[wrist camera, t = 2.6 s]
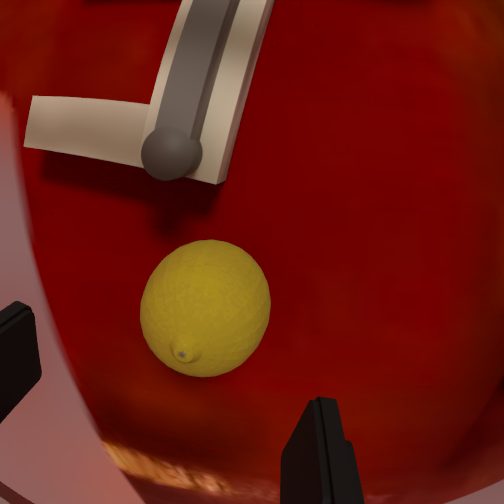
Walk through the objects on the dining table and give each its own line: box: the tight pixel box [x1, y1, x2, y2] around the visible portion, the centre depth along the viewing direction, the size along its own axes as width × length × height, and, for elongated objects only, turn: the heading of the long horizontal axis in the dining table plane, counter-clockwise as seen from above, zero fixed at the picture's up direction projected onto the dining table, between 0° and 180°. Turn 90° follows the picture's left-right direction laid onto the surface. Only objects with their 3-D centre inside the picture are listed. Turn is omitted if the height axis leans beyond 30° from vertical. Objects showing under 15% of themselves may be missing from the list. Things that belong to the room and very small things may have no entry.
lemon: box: [140, 240, 271, 377], centre depth 14 cm, size 6×6×8 cm
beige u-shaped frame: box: [24, 0, 275, 184], centre depth 12 cm, size 15×12×4 cm
